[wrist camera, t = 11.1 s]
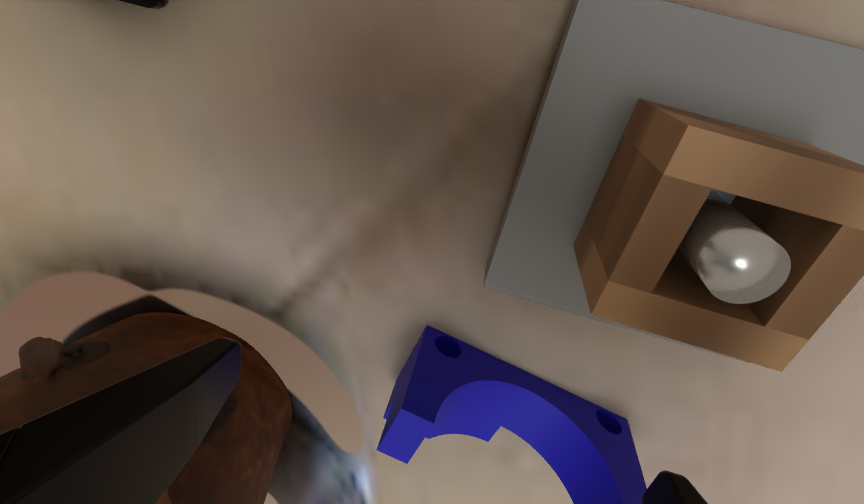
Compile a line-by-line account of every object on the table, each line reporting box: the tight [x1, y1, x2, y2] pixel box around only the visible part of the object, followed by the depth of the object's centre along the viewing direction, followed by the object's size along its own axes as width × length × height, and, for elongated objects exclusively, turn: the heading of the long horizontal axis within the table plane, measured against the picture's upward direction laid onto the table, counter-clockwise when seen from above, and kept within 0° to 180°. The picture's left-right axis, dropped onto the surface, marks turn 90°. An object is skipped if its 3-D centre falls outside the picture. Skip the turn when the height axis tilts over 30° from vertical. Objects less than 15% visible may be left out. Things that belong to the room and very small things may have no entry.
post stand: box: [483, 0, 864, 363], centre depth 15 cm, size 12×12×7 cm
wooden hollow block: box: [573, 98, 864, 372], centre depth 14 cm, size 6×6×5 cm
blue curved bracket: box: [377, 325, 647, 504], centre depth 22 cm, size 12×4×6 cm, turn 66°
